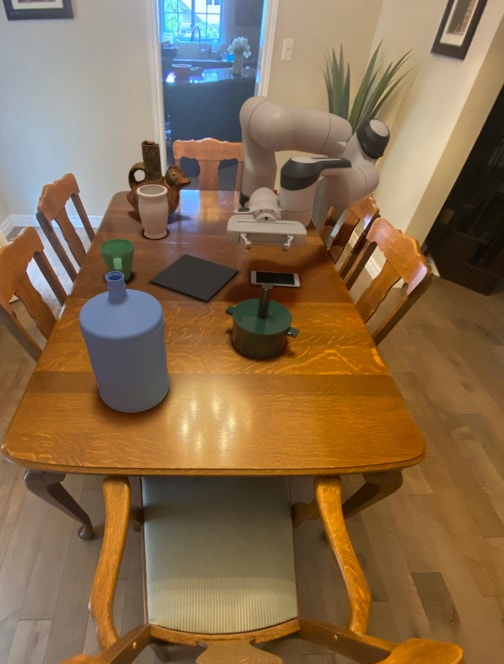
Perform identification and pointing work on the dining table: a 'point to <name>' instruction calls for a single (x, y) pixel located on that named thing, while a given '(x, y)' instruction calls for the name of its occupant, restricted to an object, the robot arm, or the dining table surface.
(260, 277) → the smartphone
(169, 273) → the mat
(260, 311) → the lid
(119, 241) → the mug
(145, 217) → the jar
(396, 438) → the dining table surface
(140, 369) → the water jug
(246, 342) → the pot
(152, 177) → the ceramic vessel
